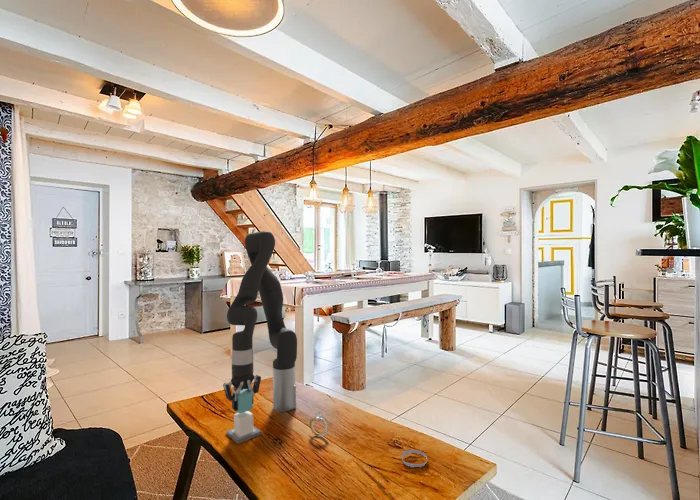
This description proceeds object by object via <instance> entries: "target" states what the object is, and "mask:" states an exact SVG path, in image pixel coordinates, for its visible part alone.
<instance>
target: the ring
mask: <svg viewBox="0 0 700 500" xmlns="http://www.w3.org/2000/svg"><path fill="white" fill-rule="evenodd" d="M315 420H320V421H322V422H323V424H324V427H325V428H324V429H325V430H324V432H323V433H321V432H317V431H316V430H315V428H314V425H313V423H314V421H315ZM309 428H310V430H311V432H312V433H313V434H314V436H316V437H318V438H320V437H324V436H325V435H326V434H327V433H328V431H329V422H328V420H327V418H326V417H324V415H323V414H322V413H320V412H318V414H317V413H315V414H314V416H313V417H312V418H311V419H310V421H309Z"/></svg>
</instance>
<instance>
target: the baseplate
mask: <svg viewBox="0 0 700 500" xmlns="http://www.w3.org/2000/svg"><path fill="white" fill-rule="evenodd" d="M225 433H226V435H227V436H228V437H229V438H230V439H231V438H232V439H233V440H232V439H231V440H232V441H234V442H235V443H236V444H237V445H238V444H241V443H242V442H243V441H244V442H245V441H248V440H251V439H253V438H257V437H259V436H261V435H262V430H260V429H258V428H257V426H254V425H253V431H252V432H249V433H246V434H244V435H241V436H240V435H239V434H238V433H236V432H235V431H234V427H233V428H231V429H228V430H226V432H225Z"/></svg>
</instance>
